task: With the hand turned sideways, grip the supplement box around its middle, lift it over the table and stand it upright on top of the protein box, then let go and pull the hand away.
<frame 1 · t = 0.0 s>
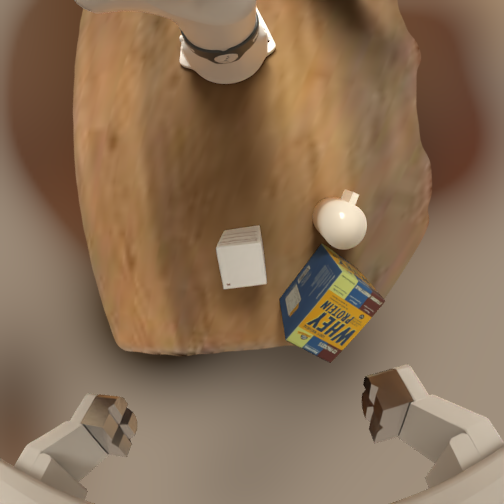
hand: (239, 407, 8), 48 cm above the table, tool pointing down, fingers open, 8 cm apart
protein box: (318, 283, 59), on the table
off-white mug: (331, 216, 54), on the table
supplement box: (244, 244, 57), on the table
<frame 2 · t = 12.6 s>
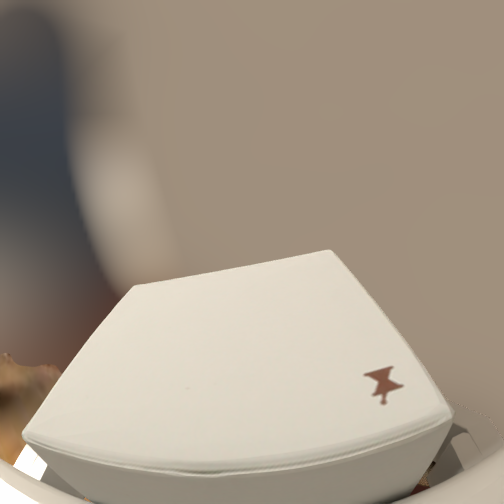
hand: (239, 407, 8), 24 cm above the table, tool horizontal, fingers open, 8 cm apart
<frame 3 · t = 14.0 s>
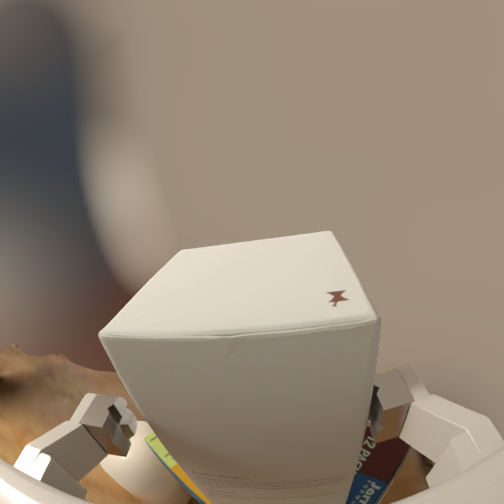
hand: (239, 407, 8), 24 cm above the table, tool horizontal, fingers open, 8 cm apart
off-white mug: (164, 485, 23), on the table
supplement box: (281, 462, 13), point 15 cm above the table, touching gripper, protein box
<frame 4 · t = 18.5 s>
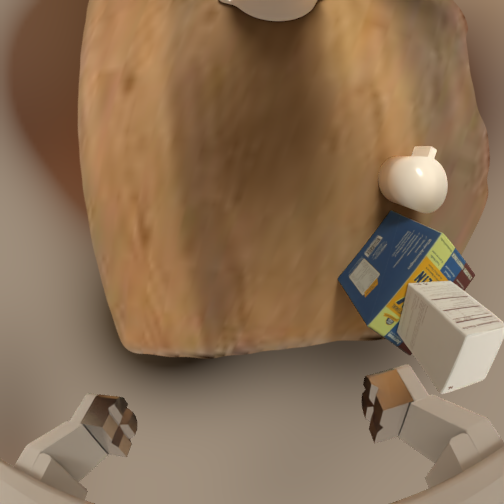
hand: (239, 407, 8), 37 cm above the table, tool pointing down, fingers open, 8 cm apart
protein box: (382, 260, 46), on the table, touching supplement box
off-white mug: (398, 179, 41), on the table
supplement box: (423, 305, 31), point 15 cm above the table, touching protein box
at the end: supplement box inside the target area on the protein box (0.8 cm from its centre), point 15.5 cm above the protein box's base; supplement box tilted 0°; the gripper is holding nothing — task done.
